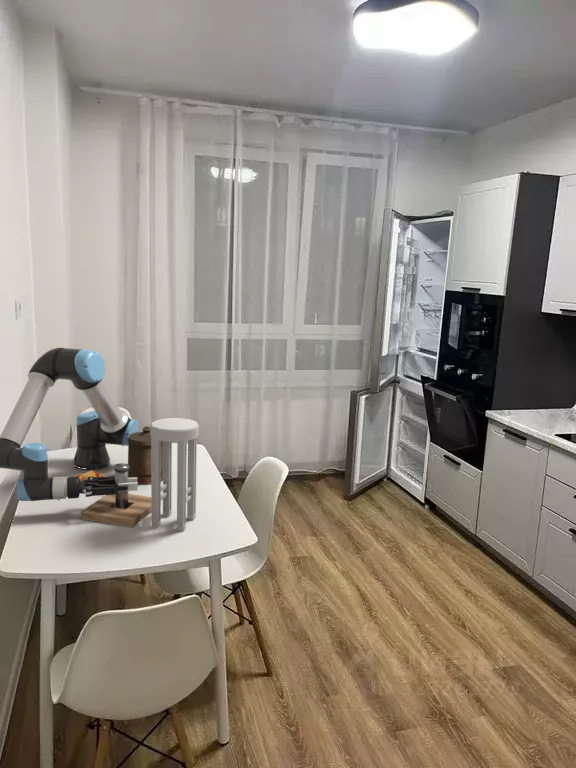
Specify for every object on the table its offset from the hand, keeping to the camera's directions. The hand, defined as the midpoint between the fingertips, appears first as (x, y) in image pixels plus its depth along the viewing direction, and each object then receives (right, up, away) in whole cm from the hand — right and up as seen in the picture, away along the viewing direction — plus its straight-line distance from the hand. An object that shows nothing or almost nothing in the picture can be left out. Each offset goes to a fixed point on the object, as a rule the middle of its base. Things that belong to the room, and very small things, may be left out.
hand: (137, 483), depth 202 cm
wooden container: (-5, -4, +34) cm, 34 cm away
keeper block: (-6, -10, 0) cm, 11 cm away
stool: (+14, -12, -6) cm, 20 cm away
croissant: (-25, -5, +22) cm, 34 cm away
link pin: (-6, -9, 0) cm, 10 cm away
